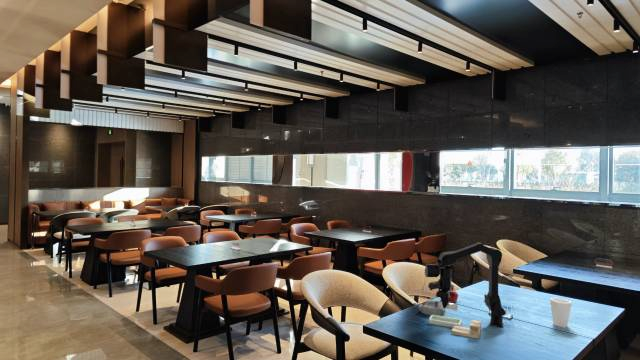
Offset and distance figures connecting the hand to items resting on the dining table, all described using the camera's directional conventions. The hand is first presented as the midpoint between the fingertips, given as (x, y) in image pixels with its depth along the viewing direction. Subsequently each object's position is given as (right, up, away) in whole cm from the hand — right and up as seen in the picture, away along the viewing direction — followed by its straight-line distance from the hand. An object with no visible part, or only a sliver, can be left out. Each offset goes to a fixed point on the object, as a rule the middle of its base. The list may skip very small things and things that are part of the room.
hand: (444, 307), depth 214 cm
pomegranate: (+15, -9, +40) cm, 44 cm away
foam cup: (+61, -10, +1) cm, 62 cm away
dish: (-1, -9, +17) cm, 19 cm away
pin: (+1, +1, 0) cm, 1 cm away
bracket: (+6, -9, -13) cm, 17 cm away
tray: (0, -9, 0) cm, 9 cm away
